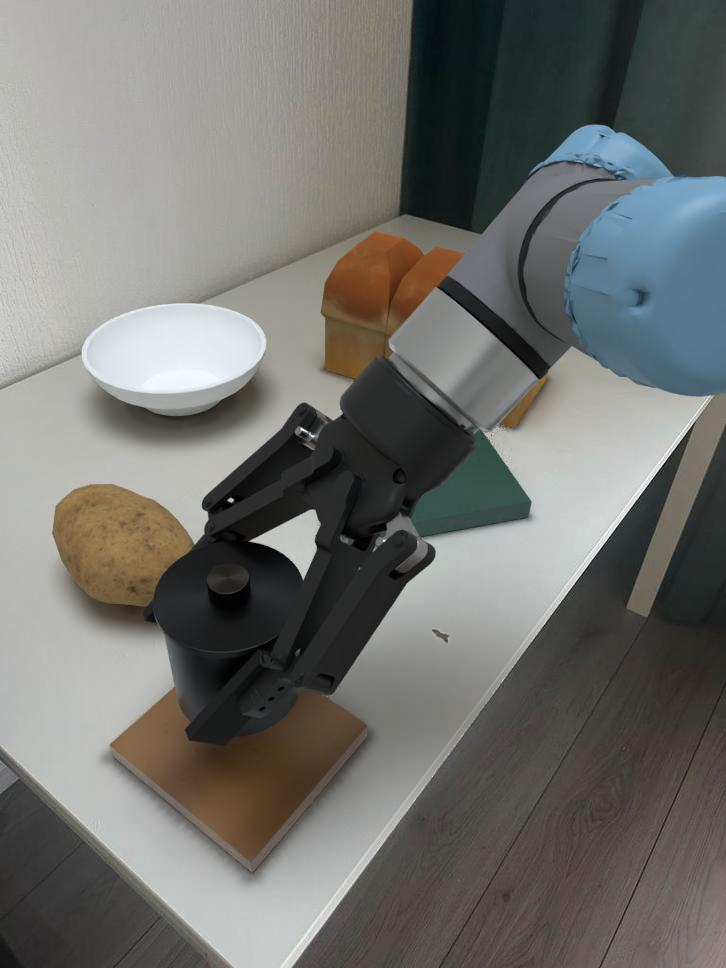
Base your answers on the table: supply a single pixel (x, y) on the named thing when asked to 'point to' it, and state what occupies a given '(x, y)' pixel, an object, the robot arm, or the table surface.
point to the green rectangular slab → (472, 495)
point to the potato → (117, 542)
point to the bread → (383, 303)
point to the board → (242, 770)
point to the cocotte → (224, 619)
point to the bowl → (175, 356)
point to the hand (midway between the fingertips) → (181, 675)
